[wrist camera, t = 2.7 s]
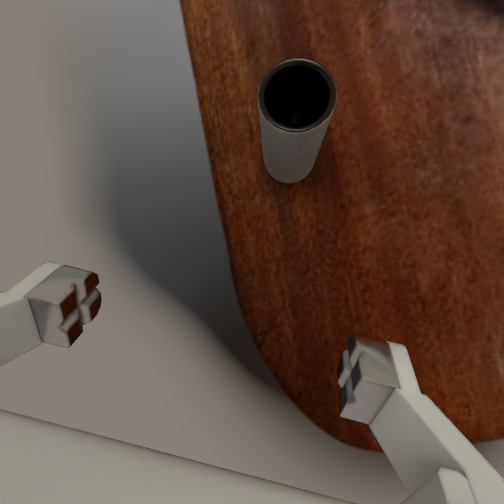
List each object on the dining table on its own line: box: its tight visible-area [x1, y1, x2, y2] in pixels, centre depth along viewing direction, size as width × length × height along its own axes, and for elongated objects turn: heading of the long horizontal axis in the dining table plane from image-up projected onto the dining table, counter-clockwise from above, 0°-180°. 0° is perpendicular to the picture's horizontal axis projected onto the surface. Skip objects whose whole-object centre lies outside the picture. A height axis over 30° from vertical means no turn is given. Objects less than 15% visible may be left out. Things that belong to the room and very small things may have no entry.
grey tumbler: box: [258, 57, 337, 183], centre depth 23 cm, size 4×4×10 cm
